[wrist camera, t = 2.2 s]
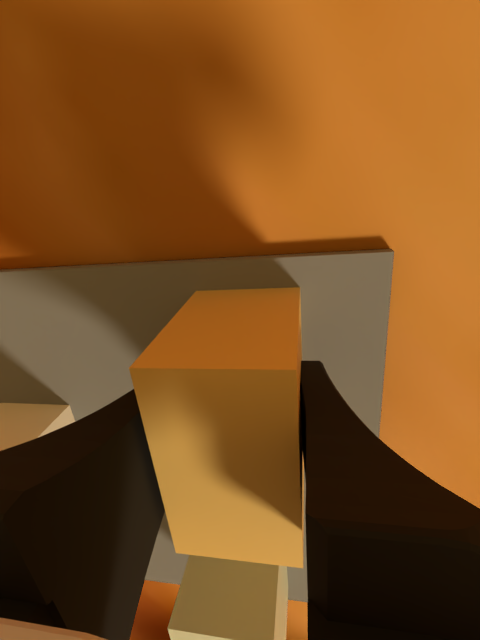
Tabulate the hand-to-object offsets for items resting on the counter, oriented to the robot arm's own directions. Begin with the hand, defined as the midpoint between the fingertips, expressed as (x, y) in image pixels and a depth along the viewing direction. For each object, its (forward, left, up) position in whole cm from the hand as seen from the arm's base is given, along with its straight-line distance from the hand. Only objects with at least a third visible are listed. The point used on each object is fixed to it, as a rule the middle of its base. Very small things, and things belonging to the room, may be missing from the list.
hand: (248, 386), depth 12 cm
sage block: (-10, +1, -1) cm, 10 cm away
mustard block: (0, 0, -1) cm, 1 cm away
